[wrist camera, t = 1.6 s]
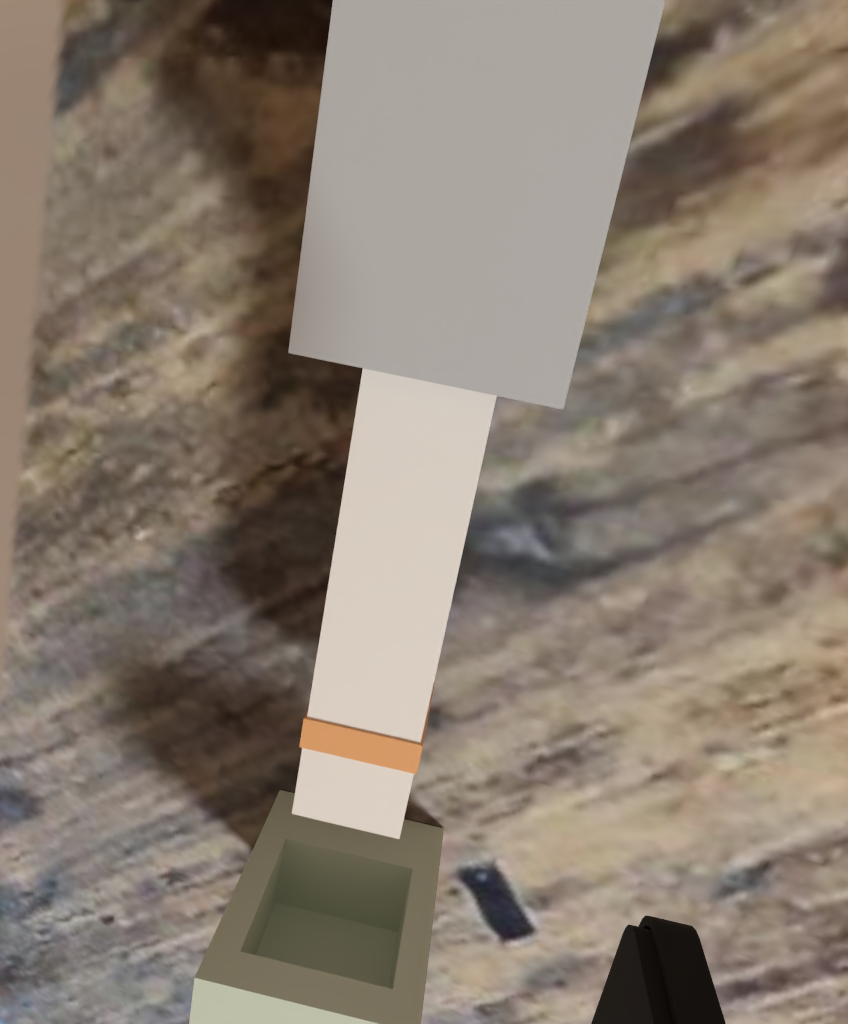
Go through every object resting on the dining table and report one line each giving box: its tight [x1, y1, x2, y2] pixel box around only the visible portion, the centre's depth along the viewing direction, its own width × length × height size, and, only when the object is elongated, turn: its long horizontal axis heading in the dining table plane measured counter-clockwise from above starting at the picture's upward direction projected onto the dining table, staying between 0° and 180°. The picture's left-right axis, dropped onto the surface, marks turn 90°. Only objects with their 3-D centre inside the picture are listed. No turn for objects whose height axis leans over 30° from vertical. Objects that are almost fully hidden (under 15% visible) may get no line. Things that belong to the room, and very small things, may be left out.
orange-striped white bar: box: [292, 368, 497, 839], centre depth 20 cm, size 24×4×4 cm, turn 169°
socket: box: [189, 790, 444, 1024], centre depth 27 cm, size 4×7×9 cm, turn 79°
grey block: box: [288, 0, 665, 409], centre depth 19 cm, size 10×6×8 cm, turn 169°
